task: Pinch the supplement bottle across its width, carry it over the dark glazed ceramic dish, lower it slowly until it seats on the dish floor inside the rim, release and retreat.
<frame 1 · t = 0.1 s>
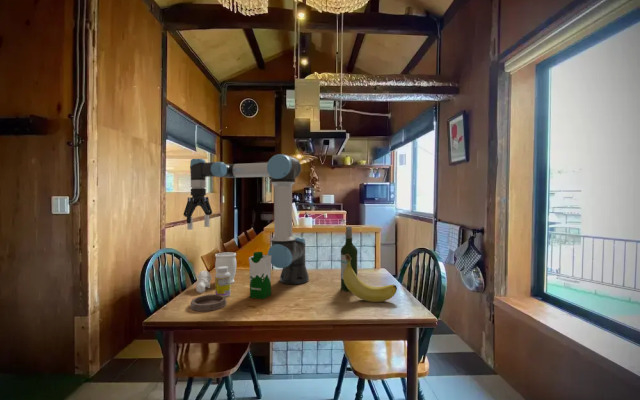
hand: (198, 228, 172), 28 cm above the table, fingers open, 13 cm apart
banana: (369, 301, 138), on the table
dish: (208, 305, 133), on the table
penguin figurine: (202, 290, 154), on the table
wine bottle: (349, 289, 155), on the table
supplement bottle: (223, 295, 146), on the table
milk carton: (260, 296, 145), on the table
jar: (226, 282, 168), on the table
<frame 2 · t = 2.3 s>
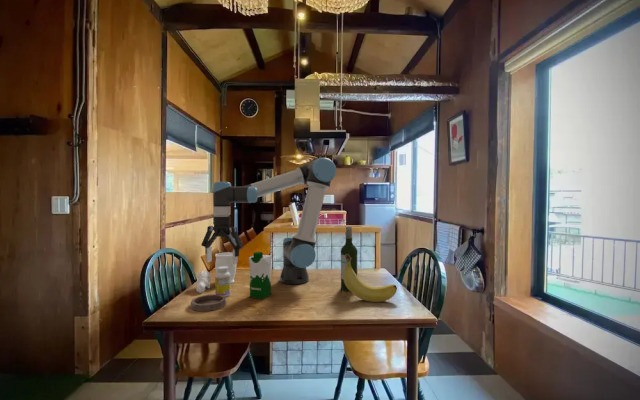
hand: (221, 262, 146), 15 cm above the table, fingers open, 13 cm apart
nothing on the table moved.
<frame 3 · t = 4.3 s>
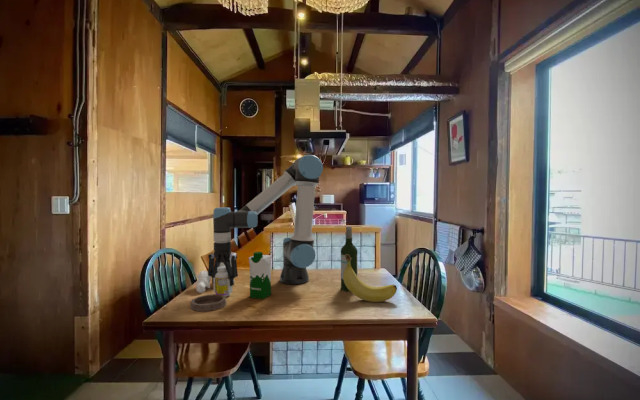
hand: (223, 292, 146), 2 cm above the table, fingers closed on supplement bottle, 7 cm apart
supplement bottle: (223, 295, 146), on the table, touching gripper
everything else where it was.
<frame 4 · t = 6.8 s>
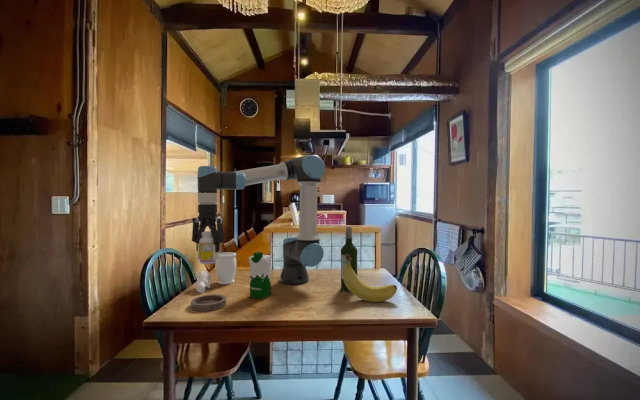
hand: (208, 259, 133), 19 cm above the table, fingers closed on supplement bottle, 7 cm apart
supplement bottle: (208, 263, 133), point 17 cm above the table, touching gripper
everything else where it was.
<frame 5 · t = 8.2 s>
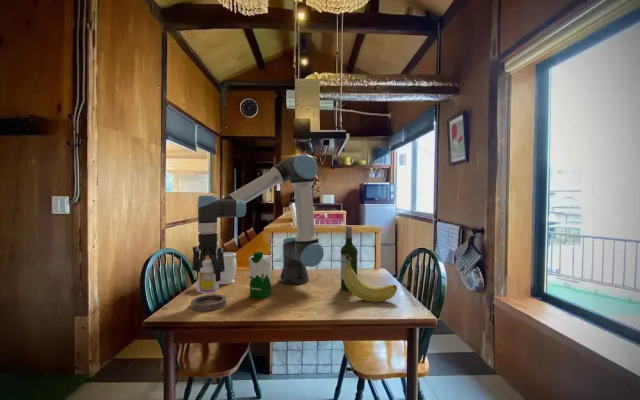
hand: (208, 288, 133), 7 cm above the table, fingers closed on supplement bottle, 7 cm apart
supplement bottle: (208, 292, 133), point 5 cm above the table, touching gripper
everything else where it was.
when the fingers open (3 cm above the table, at t = 9.4 s): supplement bottle drops 1 cm, resting on dish.
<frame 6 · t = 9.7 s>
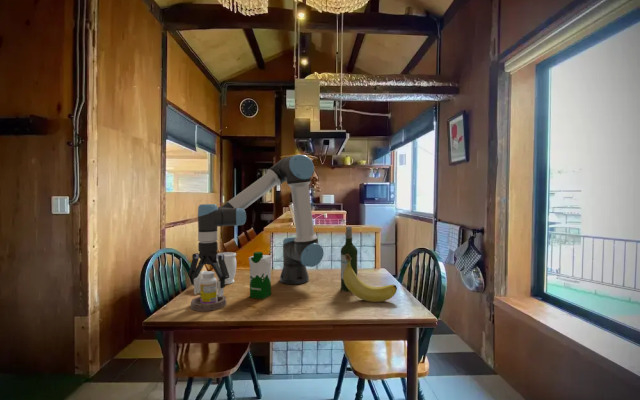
hand: (208, 294, 133), 4 cm above the table, fingers open, 11 cm apart
supplement bottle: (209, 303, 133), point 1 cm above the table, touching dish
everything else where it was.
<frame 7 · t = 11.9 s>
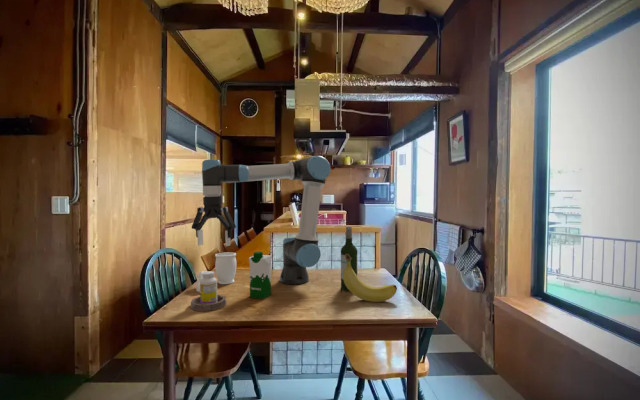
hand: (214, 245, 139), 24 cm above the table, fingers open, 13 cm apart
nothing on the table moved.
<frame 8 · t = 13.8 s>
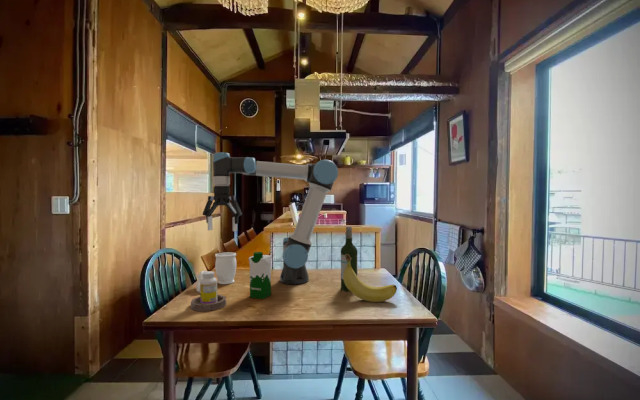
hand: (222, 230, 153), 29 cm above the table, fingers open, 13 cm apart
nothing on the table moved.
at the end: supplement bottle 0.0 cm from the dish (horizontally); supplement bottle tilted 0°; supplement bottle point 0.6 cm above the table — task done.
